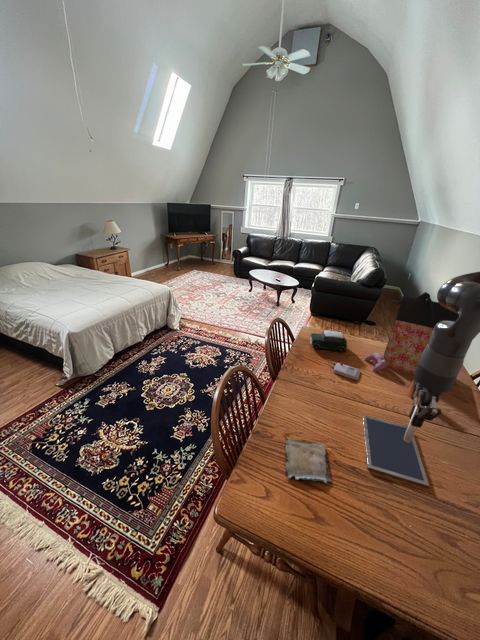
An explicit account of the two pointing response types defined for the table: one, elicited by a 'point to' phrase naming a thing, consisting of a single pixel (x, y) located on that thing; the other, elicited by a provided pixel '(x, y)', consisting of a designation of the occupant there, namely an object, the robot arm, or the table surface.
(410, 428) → the stylus
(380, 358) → the video game controller
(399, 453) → the tablet
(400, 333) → the gift bag
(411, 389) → the pen cup
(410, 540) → the table surface
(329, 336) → the miniature car
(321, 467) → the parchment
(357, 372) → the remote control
